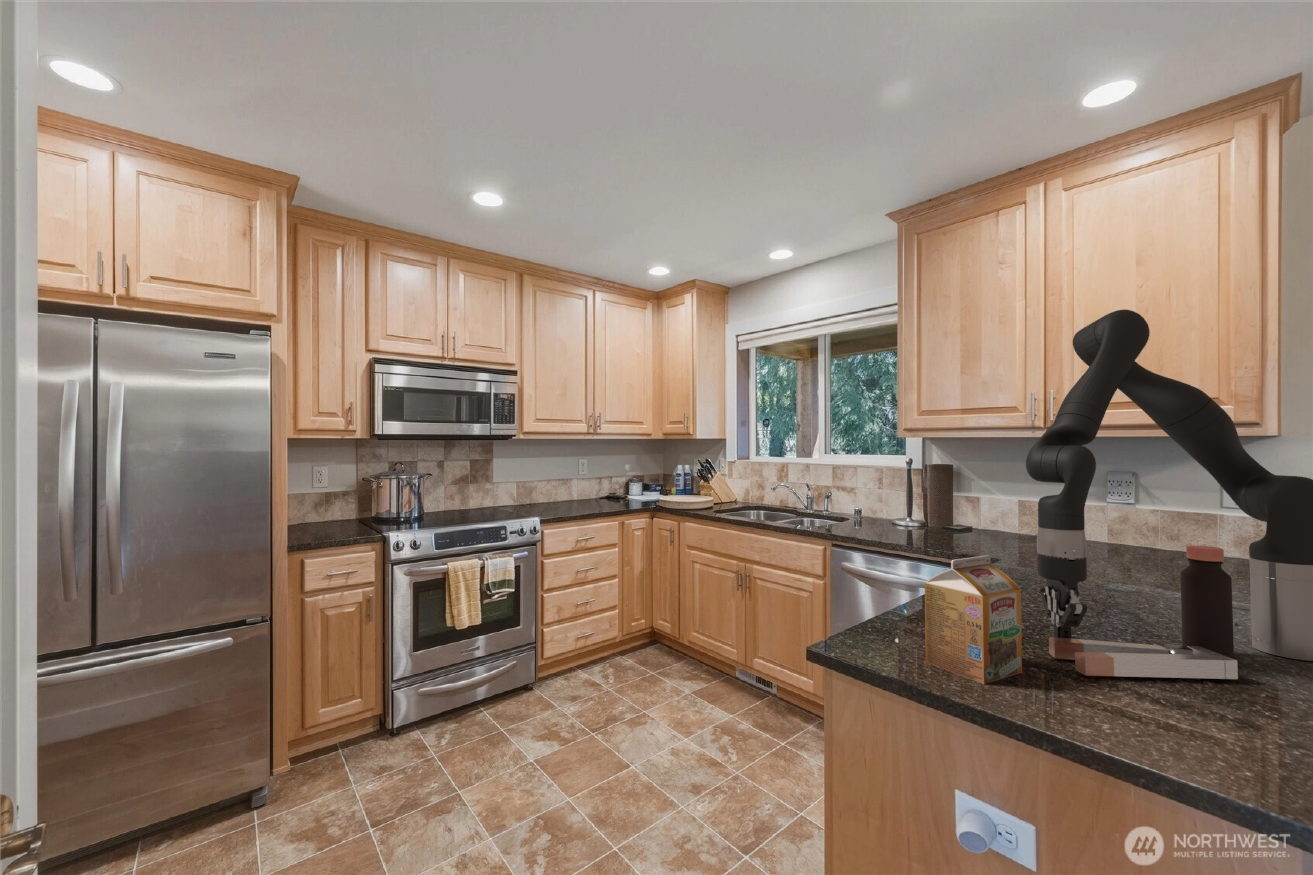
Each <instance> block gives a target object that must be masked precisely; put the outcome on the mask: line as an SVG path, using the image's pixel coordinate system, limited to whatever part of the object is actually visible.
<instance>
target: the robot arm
mask: <svg viewBox="0 0 1313 875" xmlns="http://www.w3.org/2000/svg"><path fill="white" fill-rule="evenodd" d="M1149 340H1150V327H1149V324H1148V322H1147V321H1146V319H1145V318H1144V317H1143V316H1142V315H1141V314H1140V313H1138V312H1136V311H1134V310H1131V309H1117V310H1115V311H1114V310H1113V311H1111V312H1110V313H1107V314H1105V315H1104V316H1101V317H1100V318H1098V319H1096V320H1095V321H1093V322H1091V323H1090V324H1087V325H1086V326H1084V327H1083V328H1081V329H1080V330H1078V331H1077V332H1075V334H1074V335H1073V338H1072V347H1073V350H1074V351H1075V354H1076V355H1077V356H1078V358H1079V359H1081V361H1082V362H1083V363H1084V364H1086V365H1087V366H1088V368H1087V369H1086V371H1085V372H1084V373H1083V374H1082V375H1081V377H1080V378H1079V379H1078V380H1077V381H1076V382H1075V384H1074V385H1073V386H1072V388H1071V389H1070V390H1069V391H1068V393H1067V394H1066V396H1065V397H1064V398H1063V401H1062V402H1061V404H1060V406H1059V409H1058V410H1057V414H1056V416H1055V418H1054V421H1053V423H1052V425H1050V427H1048V429H1046V431H1045V432H1044V433H1043V434H1042V435H1041V436H1040V437H1039V438H1038V440H1037V441H1035V443H1034V444H1033V446H1032V447H1031V448H1030V450H1029V451H1028V454H1027V456H1026V459H1025V468H1026V471H1027V473H1028V475H1029V477H1030V478H1031V479H1033V480H1034V481H1036V482H1041V483H1053V484H1054V483H1056V484H1057V483H1058V484H1064V485H1063V488H1062V490H1061V492H1059V493H1058V494H1052V495H1045V496H1044V495H1043V496H1042V497H1040V498H1039V500H1038V503H1037V526H1038V527H1037V534H1036V572H1037V573H1036V574H1037V575H1038V576H1039V577H1041V578H1043V579H1046V581H1045V587H1040V588H1039V593H1040V596H1041V600H1042V602H1043V606H1044V609H1045V610H1044V611H1045V613H1046V616H1047V618H1049V619H1051V624H1053V637H1056V638H1069V639H1072V628H1079V627H1080V625H1081V622H1082V621H1083V619H1084V616H1085V615H1086V612H1087V610H1088V605H1087V603H1081V602H1080V591H1079V586H1078V583H1080V582H1081V583H1083V582H1085V581H1087V579H1088V554H1087V553H1088V552H1087V551H1088V550H1087V548H1088V547H1087V546H1088V545H1087V537H1086V530H1085V523H1086V522H1085V520H1086V519H1085V506H1086V502H1087V500H1088V499H1087V498H1088V495H1089V493H1090V492H1089V491H1090V489H1091V485H1092V482H1093V480H1094V477H1095V474H1096V470H1097V461H1096V457H1095V455H1094V454H1093V452H1092V451H1091V450H1090V449H1089V448H1088V447H1086V446H1084V445H1088V444H1091V443H1092V442H1093V441H1094V440H1095V439H1096V438H1097V437H1096V436H1097V435H1098V432H1099V429H1100V427H1101V424H1102V423H1103V420H1104V417H1105V415H1106V412H1107V411H1108V407H1109V405H1110V403H1111V401H1112V399H1113V397H1114V395H1115V394H1116V392H1117V389H1118V391H1120V392H1121V393H1123V394H1124V395H1125V396H1126V397H1128V399H1130V401H1132V402H1133V403H1134V404H1135V405H1136V406H1137V407H1138V408H1140V409H1141V410H1142V411H1143V413H1145V414H1146V415H1147V416H1148V417H1149V418H1150V419H1151V420H1152V421H1153V422H1154V423H1155V424H1156V425H1157V426H1158V427H1159V428H1160V429H1161V430H1162V431H1163V432H1164V433H1165V434H1166V435H1167V436H1169V437H1170V438H1171V440H1173V441H1174V442H1175V443H1177V444H1178V446H1180V448H1182V449H1183V450H1184V451H1185V452H1186V453H1187V454H1188V455H1189V456H1190V457H1192V459H1193V460H1194V461H1196V462H1197V463H1198V464H1199V465H1200V466H1201V467H1202V468H1203V469H1204V470H1206V471H1207V472H1208V473H1209V474H1210V476H1212V478H1213V479H1214V480H1215V481H1216V482H1217V484H1218V485H1219V486H1220V487H1221V488H1222V490H1224V492H1225V493H1226V494H1227V495H1228V496H1229V498H1230V499H1231V500H1232V501H1233V502H1234V504H1235V505H1237V507H1238V508H1239V509H1240V510H1241V511H1242V512H1243V513H1244V514H1246V515H1248V516H1250V518H1252V519H1254V520H1258V521H1260V522H1264V523H1266V526H1265V530H1266V531H1265V535H1264V536H1263V537H1262V538H1261V539H1259V540H1256V541H1252V542H1251V543H1250V544H1249V547H1248V551H1249V552H1248V555H1249V556H1248V559H1249V581H1250V582H1249V585H1250V586H1249V589H1250V590H1249V591H1250V615H1251V616H1250V617H1251V618H1250V619H1251V621H1250V622H1251V623H1250V624H1251V647H1252V648H1254V649H1256V650H1257V651H1260V652H1263V653H1267V654H1270V655H1273V656H1278V657H1282V658H1287V659H1294V660H1300V661H1309V662H1313V479H1312V478H1310V477H1305V476H1300V475H1299V476H1298V475H1282V474H1281V475H1279V474H1277V475H1275V474H1274V473H1272V472H1270V471H1269V470H1268V469H1266V468H1265V467H1264V466H1262V465H1261V464H1260V463H1259V462H1258V461H1256V460H1255V459H1254V458H1253V457H1252V456H1251V455H1250V454H1249V453H1248V452H1247V451H1246V450H1245V448H1244V447H1243V445H1242V443H1241V440H1240V437H1239V434H1238V430H1237V428H1236V426H1235V422H1234V421H1233V419H1232V417H1231V416H1230V415H1229V414H1228V413H1227V412H1226V411H1225V409H1224V408H1222V407H1221V405H1219V404H1218V403H1217V402H1216V401H1215V400H1214V399H1212V398H1211V397H1210V396H1209V395H1208V394H1207V393H1205V392H1204V391H1203V390H1201V389H1200V388H1199V387H1195V386H1193V385H1191V384H1188V383H1186V382H1183V381H1179V380H1176V379H1174V378H1171V377H1168V376H1165V375H1161V374H1159V373H1156V372H1153V371H1151V370H1149V369H1147V368H1145V367H1143V366H1142V365H1141V364H1139V363H1138V362H1137V361H1136V360H1137V358H1138V357H1139V356H1140V354H1141V353H1142V351H1143V350H1144V349H1145V347H1146V345H1147V343H1148V341H1149Z"/></svg>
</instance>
